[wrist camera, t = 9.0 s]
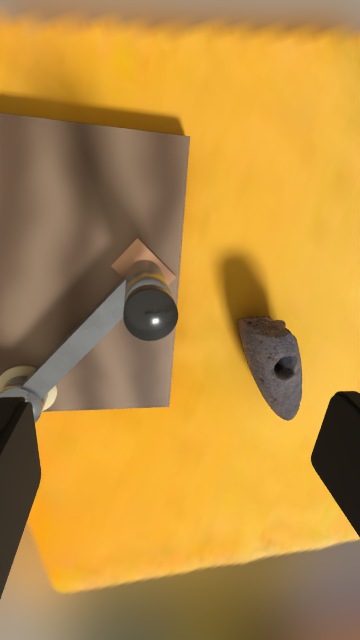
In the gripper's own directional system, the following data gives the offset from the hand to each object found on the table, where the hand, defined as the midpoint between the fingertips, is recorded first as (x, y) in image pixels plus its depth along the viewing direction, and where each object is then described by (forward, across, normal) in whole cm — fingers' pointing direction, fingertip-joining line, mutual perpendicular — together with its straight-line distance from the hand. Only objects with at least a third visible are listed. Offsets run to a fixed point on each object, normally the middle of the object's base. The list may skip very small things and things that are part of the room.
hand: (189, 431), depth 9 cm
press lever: (+20, +7, +7) cm, 22 cm away
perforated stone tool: (+23, -14, +10) cm, 29 cm away
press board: (+22, +7, +2) cm, 24 cm away
